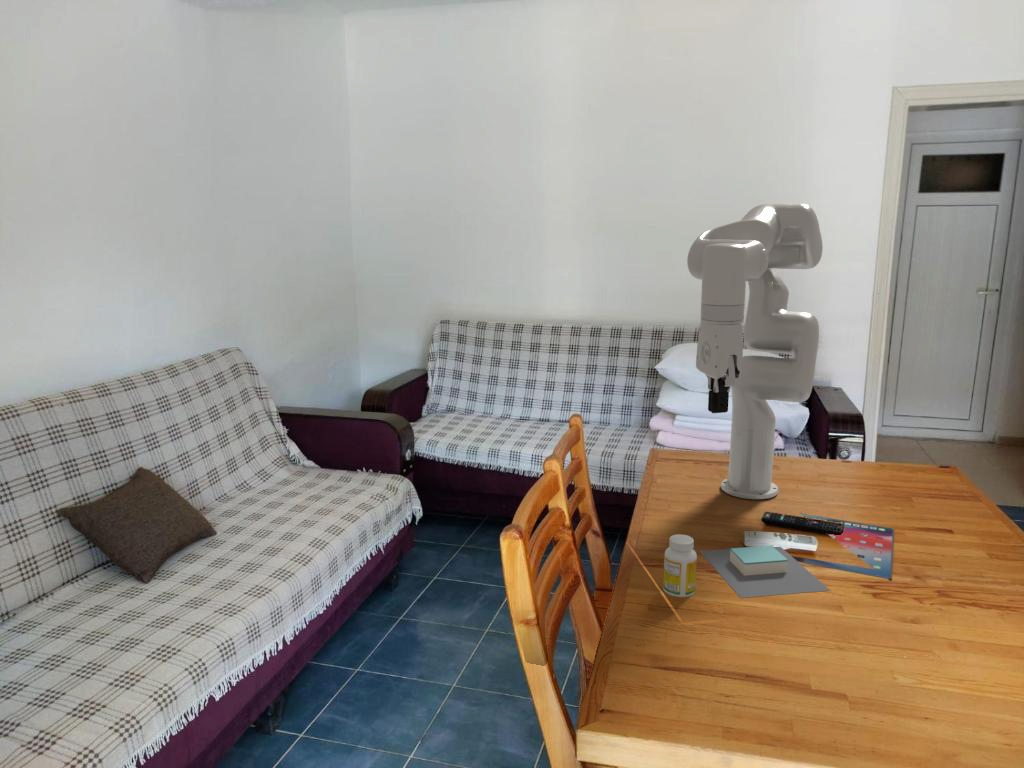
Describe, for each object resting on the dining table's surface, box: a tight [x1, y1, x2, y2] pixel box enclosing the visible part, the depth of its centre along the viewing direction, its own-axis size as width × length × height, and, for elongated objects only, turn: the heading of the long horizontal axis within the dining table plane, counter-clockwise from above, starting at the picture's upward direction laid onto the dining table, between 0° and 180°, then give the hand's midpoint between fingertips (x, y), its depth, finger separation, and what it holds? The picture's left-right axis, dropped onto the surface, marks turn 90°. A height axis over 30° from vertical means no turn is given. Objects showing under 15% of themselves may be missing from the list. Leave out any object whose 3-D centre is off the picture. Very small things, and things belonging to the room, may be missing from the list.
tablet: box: [791, 513, 895, 582], centre depth 145 cm, size 19×25×1 cm
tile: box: [729, 545, 788, 576], centre depth 135 cm, size 2×8×6 cm
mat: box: [699, 546, 831, 599], centre depth 134 cm, size 18×16×1 cm
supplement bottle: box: [662, 533, 698, 598], centre depth 126 cm, size 5×5×10 cm
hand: (717, 411), depth 138 cm, fingers closed
